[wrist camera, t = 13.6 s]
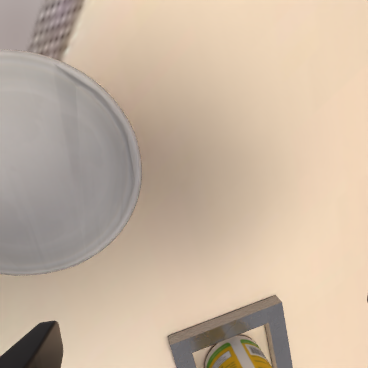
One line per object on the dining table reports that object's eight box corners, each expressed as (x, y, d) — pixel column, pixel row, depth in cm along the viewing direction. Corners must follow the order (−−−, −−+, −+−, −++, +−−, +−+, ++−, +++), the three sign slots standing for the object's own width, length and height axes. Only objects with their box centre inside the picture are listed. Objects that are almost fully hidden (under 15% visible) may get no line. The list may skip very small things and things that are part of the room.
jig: (194, 422, 26) (197, 434, 25) (167, 336, 23) (170, 345, 22) (290, 380, 27) (296, 389, 26) (275, 295, 25) (281, 302, 24)
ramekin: (166, 174, 20) (182, 190, 15) (42, 269, 20) (15, 319, 15) (59, 32, 17) (35, -7, 12) (-95, 141, 16) (-190, 148, 11)
